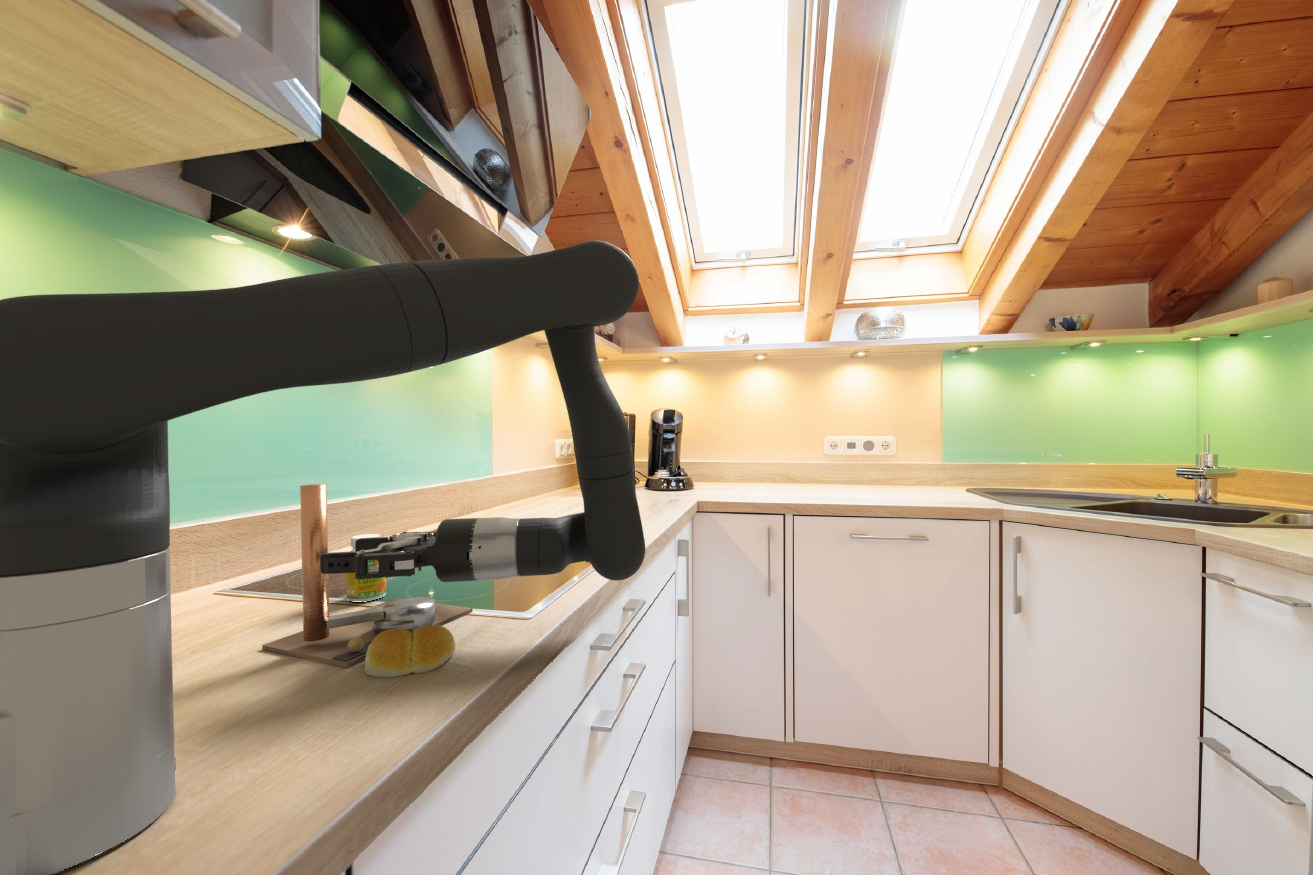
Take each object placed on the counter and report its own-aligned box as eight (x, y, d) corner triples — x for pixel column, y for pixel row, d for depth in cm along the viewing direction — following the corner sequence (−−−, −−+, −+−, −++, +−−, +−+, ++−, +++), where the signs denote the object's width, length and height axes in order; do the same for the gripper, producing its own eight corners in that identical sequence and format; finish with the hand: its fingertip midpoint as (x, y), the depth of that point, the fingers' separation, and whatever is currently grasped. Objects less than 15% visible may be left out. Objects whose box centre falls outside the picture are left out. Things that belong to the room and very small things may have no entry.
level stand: (347, 667, 56) (346, 646, 56) (262, 649, 61) (261, 630, 61) (472, 611, 73) (472, 595, 73) (397, 601, 79) (397, 586, 79)
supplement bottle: (356, 606, 77) (354, 540, 77) (340, 599, 80) (339, 537, 80) (392, 596, 81) (391, 534, 81) (376, 591, 85) (375, 531, 85)
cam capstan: (430, 611, 71) (428, 476, 71) (439, 625, 65) (436, 479, 65) (304, 634, 63) (301, 483, 63) (302, 652, 58) (298, 487, 58)
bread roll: (457, 669, 56) (456, 632, 56) (362, 687, 52) (361, 647, 52) (453, 641, 63) (452, 609, 63) (369, 655, 60) (369, 621, 60)
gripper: (491, 510, 71) (365, 514, 69) (467, 528, 56) (307, 534, 54) (492, 565, 71) (366, 571, 69) (468, 596, 56) (308, 605, 54)
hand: (340, 554), depth 62 cm, fingers open, 8 cm apart
